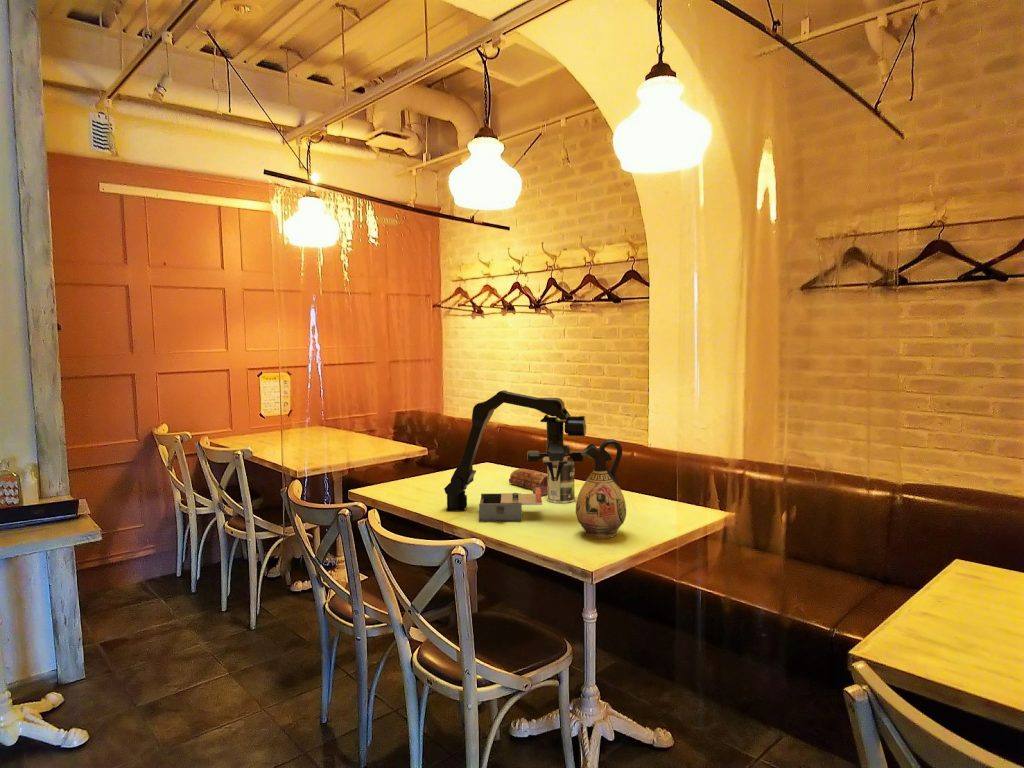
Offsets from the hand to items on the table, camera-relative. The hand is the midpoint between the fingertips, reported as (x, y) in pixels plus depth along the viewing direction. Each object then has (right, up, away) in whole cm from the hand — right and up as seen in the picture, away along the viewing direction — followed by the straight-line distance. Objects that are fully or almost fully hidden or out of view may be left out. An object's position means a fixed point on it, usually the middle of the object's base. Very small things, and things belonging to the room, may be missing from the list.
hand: (555, 480), depth 217 cm
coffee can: (+4, -11, +22) cm, 25 cm away
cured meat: (-5, -10, +40) cm, 41 cm away
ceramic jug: (+13, -14, -20) cm, 28 cm away
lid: (-11, -7, +1) cm, 13 cm away
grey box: (-18, -12, +1) cm, 22 cm away
